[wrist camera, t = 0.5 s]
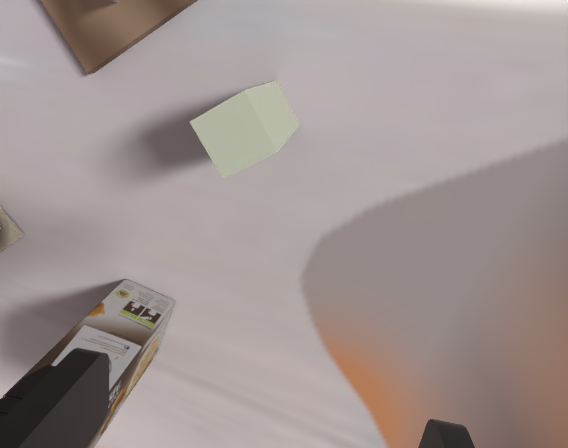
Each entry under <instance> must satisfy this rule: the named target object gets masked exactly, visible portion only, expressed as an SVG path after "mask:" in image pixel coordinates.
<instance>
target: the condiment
mask: <svg viewBox="0 0 568 448" xmlns="http://www.w3.org/2000/svg"><path fill="white" fill-rule="evenodd" d="M0 224H1V226H0V227H1V228H2V229H0V252H2V251H3V250H4V249H6V248H7V247H9V246H10V245H11V244H12V243H14V242H15V241H17V240H18V239H19V238H21V237H22V236H24V234H23V232H22V231H21V230H20V229H19V228H18V227H17V226H16V224H15V223H14V222H13V221H12V220H11V219H10V218H9V216H8V215H7V214H6V213H5V212H4V211H3V209H2V208H1V207H0Z"/></svg>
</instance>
